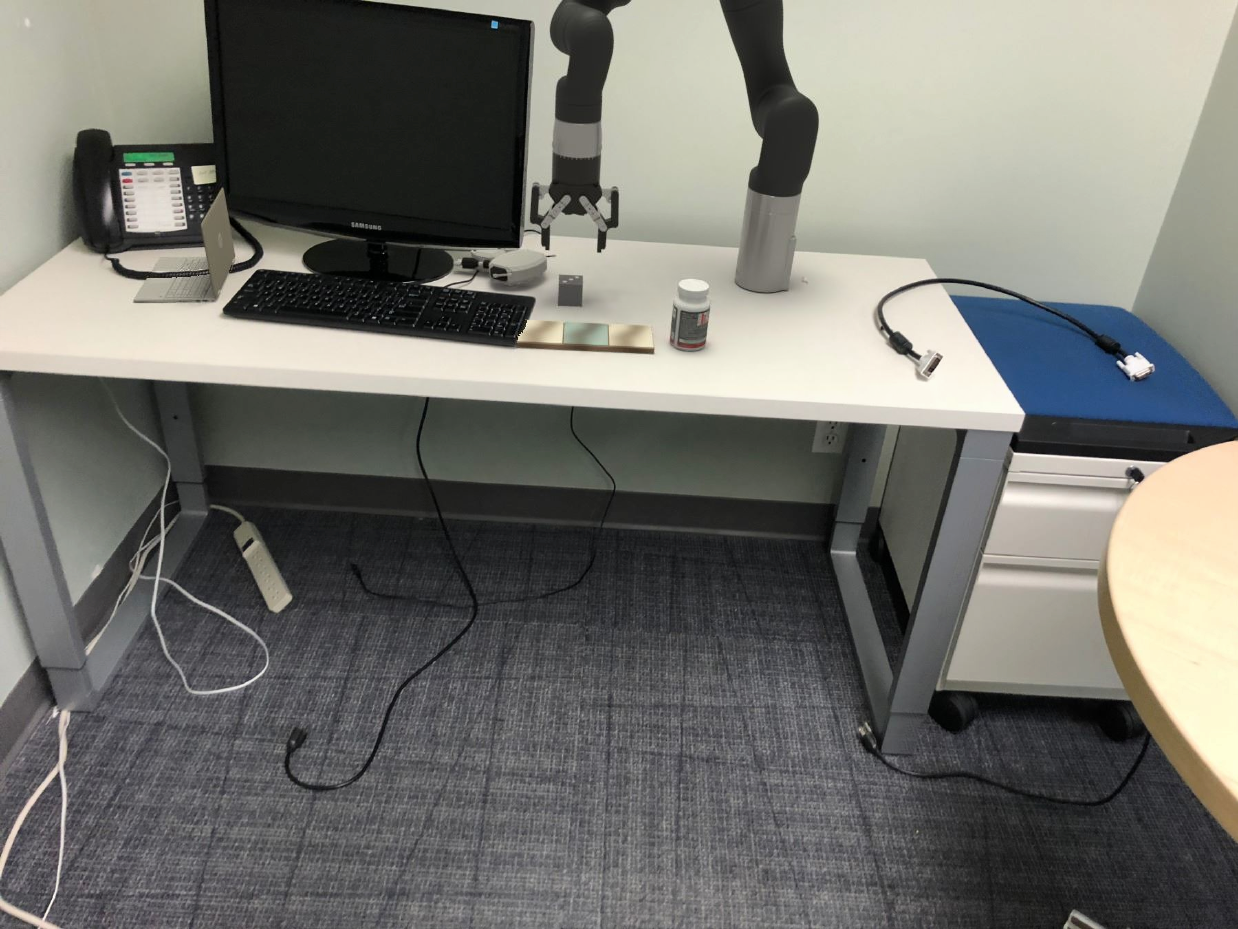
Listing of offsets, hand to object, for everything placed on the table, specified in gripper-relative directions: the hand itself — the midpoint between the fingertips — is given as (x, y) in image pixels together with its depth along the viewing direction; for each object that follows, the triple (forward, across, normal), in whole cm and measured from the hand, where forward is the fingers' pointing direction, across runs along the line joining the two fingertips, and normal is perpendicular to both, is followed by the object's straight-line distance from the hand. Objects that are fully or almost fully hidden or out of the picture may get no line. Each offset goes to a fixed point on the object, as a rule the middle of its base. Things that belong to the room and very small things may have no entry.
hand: (573, 249), depth 153 cm
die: (+9, 0, 0) cm, 9 cm away
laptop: (+10, +64, -1) cm, 64 cm away
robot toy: (+9, +12, -10) cm, 18 cm away
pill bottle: (+9, -18, +14) cm, 25 cm away
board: (+9, -2, +14) cm, 17 cm away
